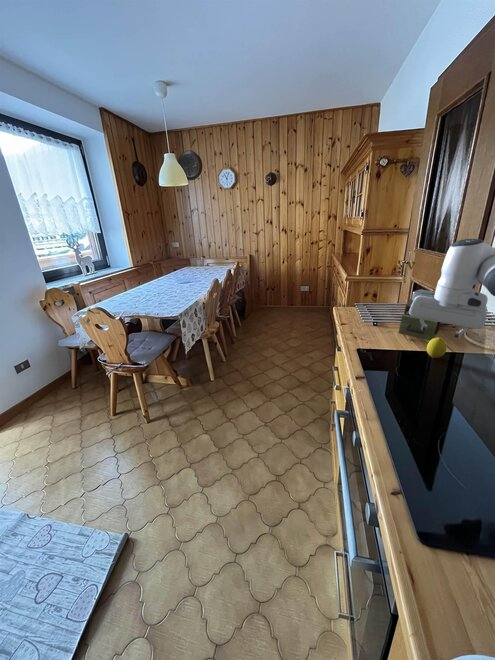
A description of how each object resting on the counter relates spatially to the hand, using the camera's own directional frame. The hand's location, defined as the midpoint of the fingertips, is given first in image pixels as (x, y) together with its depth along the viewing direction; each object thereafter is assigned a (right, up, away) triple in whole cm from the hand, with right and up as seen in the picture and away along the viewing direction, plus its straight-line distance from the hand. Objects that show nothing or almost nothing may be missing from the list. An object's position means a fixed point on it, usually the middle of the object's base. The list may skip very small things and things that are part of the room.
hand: (439, 333), depth 93 cm
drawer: (+4, 0, +19) cm, 19 cm away
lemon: (+1, -9, +4) cm, 10 cm away
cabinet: (+11, +4, +27) cm, 29 cm away
